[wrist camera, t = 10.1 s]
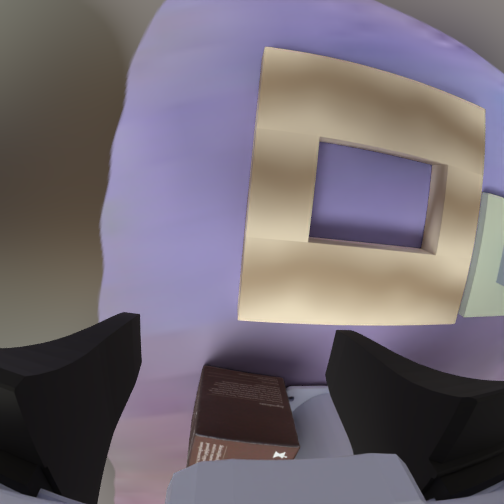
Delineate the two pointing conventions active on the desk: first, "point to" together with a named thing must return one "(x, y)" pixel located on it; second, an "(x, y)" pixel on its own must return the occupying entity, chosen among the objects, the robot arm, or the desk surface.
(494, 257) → the tile
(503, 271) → the slate block
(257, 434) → the box
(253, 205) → the pocket board
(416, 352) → the desk surface
